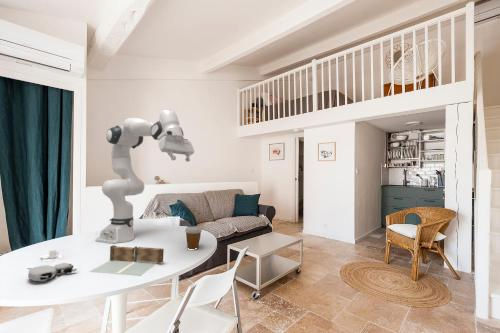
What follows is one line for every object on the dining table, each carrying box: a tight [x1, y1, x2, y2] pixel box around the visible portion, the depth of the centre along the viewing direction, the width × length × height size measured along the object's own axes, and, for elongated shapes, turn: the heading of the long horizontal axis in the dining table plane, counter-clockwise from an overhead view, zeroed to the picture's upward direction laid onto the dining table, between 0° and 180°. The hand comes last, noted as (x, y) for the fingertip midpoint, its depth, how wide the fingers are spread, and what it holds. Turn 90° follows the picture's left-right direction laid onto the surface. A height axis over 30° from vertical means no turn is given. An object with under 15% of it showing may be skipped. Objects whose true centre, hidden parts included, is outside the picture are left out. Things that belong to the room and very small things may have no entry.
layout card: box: [89, 260, 158, 277], centre depth 115 cm, size 24×20×1 cm
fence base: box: [109, 244, 138, 262], centre depth 120 cm, size 14×2×7 cm, turn 83°
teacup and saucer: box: [40, 249, 63, 262], centre depth 122 cm, size 9×8×4 cm
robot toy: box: [26, 262, 78, 283], centre depth 102 cm, size 12×4×15 cm
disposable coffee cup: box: [184, 226, 203, 249], centre depth 143 cm, size 10×10×12 cm
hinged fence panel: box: [137, 246, 165, 264], centre depth 118 cm, size 13×2×6 cm, turn 83°
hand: (181, 160), depth 124 cm, fingers open, 8 cm apart
